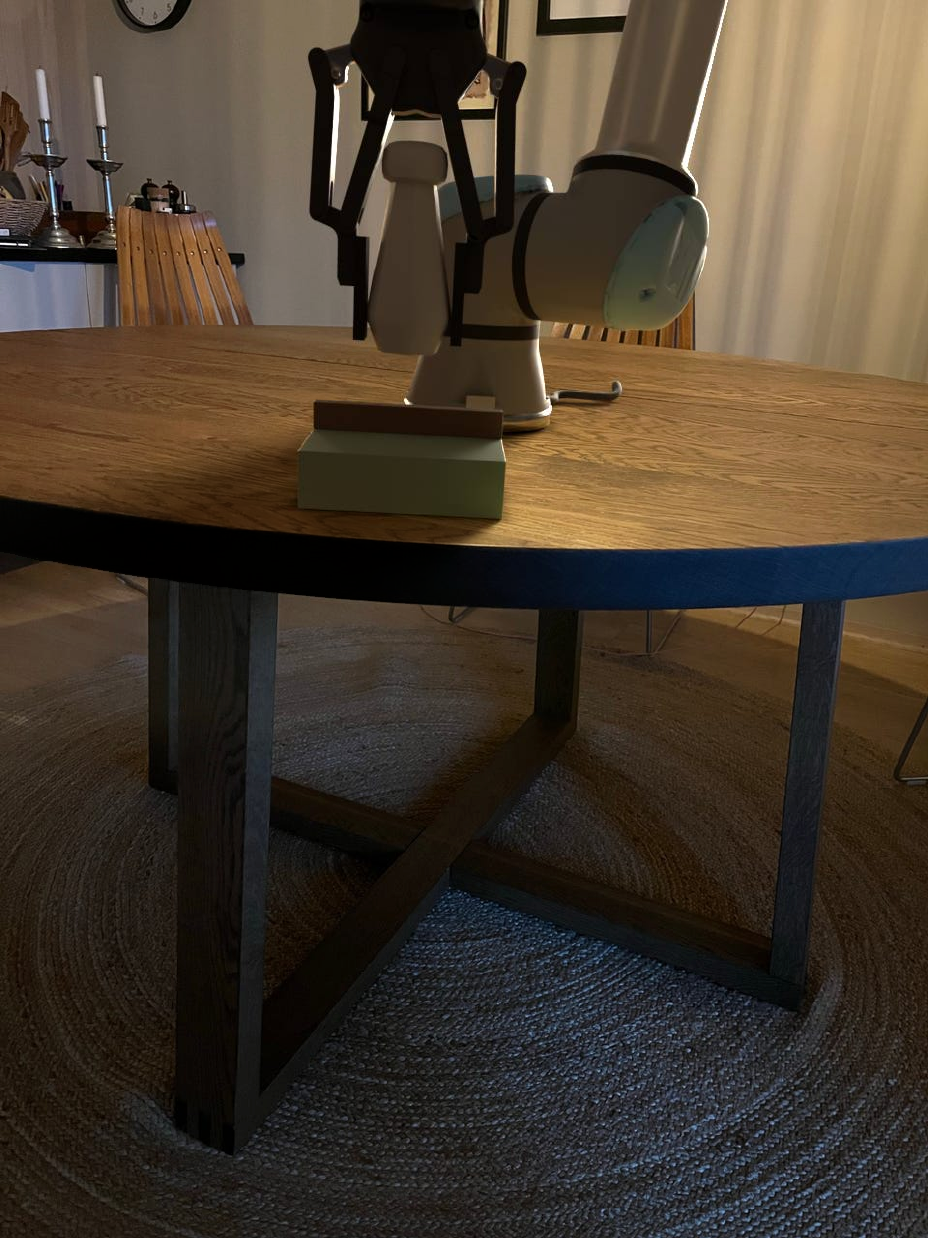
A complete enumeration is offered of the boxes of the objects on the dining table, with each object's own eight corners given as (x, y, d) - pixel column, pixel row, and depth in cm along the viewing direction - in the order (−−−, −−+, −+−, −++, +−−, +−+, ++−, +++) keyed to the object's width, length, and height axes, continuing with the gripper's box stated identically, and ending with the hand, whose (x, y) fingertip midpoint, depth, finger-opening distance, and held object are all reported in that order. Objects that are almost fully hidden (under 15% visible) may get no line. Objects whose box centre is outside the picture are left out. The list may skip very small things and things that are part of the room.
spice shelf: (315, 478, 76) (315, 399, 74) (497, 487, 77) (502, 409, 75) (297, 508, 68) (297, 420, 66) (502, 519, 68) (508, 432, 66)
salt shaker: (365, 345, 70) (370, 142, 66) (446, 349, 71) (456, 148, 66) (365, 354, 65) (370, 134, 60) (452, 358, 66) (464, 141, 61)
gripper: (572, -32, 63) (541, 344, 72) (276, -53, 63) (278, 328, 71) (586, -65, 56) (550, 355, 65) (253, -89, 56) (259, 337, 64)
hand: (408, 340), depth 68 cm, fingers closed on salt shaker, 6 cm apart
